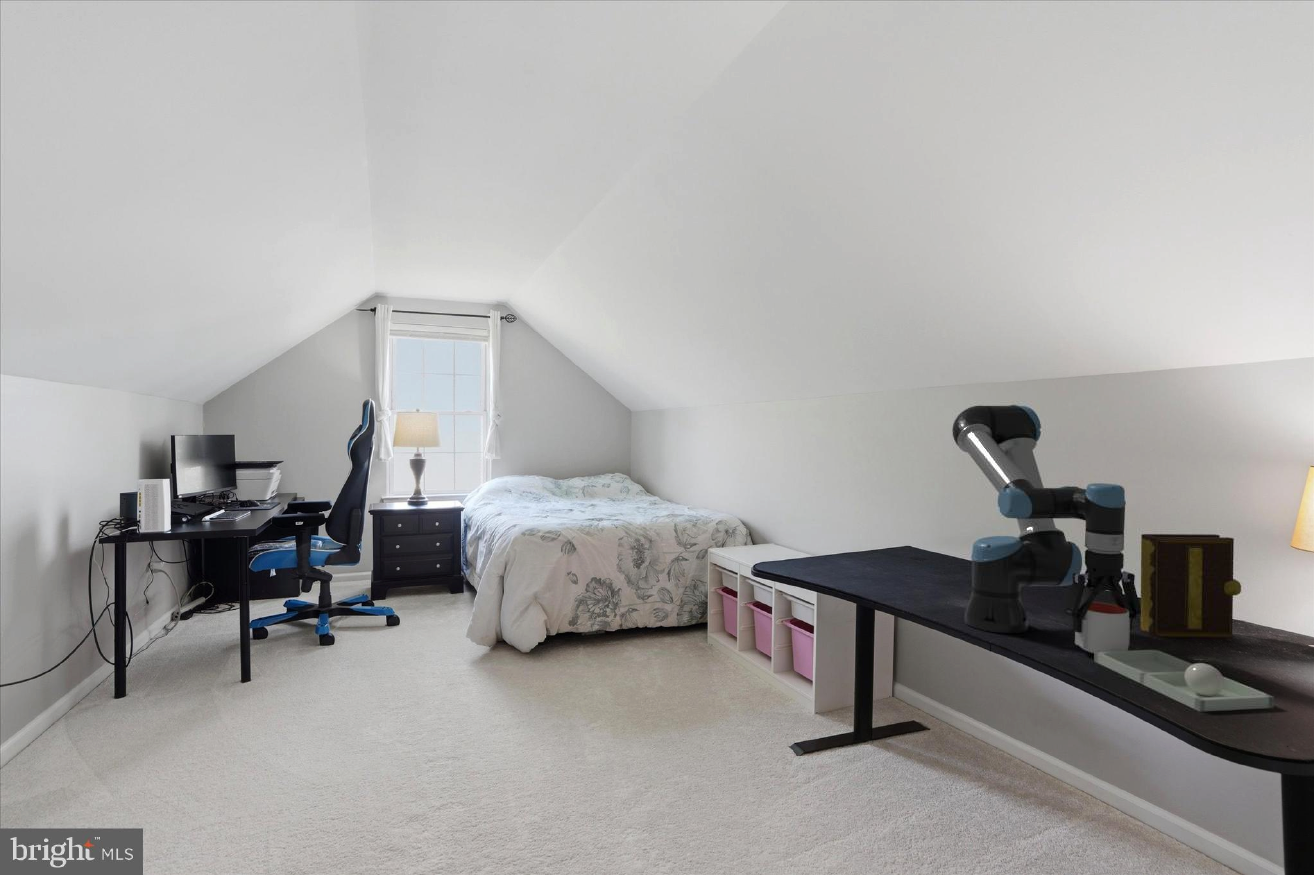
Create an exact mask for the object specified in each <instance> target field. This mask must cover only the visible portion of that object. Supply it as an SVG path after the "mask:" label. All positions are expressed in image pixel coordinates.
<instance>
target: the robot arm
mask: <svg viewBox="0 0 1314 875" xmlns="http://www.w3.org/2000/svg"><path fill="white" fill-rule="evenodd" d="M1041 429H1042V425H1041V421H1040V419H1039V416H1038V414H1037V412H1035V411H1034V409H1032V408H1031V407H1029V406H1026V405H1018V404H1017V405H1016V404H1011V405H975V406H974V405H973V406H970V407H968V408H966V409H964V410H963V411H961V412H960V413H959V414H958V415H957V417H956V418H955V420H954V422H953V424H952V437H953V440H954V442H955V444H956V445H957V446H958V448H959V449H960V450H961V451H962V452H965V453H966V454H968V455H969V456H970V457H971V458H972V460H973V461H974V463H975V465H977V467H979V469H980V470H981V472H982V473H983V474H984V476H985V477H986V478H987V479H988V481H989V482H990V483H991V485H992V486H993V487H994V489H995V490H996V491H997V493H998V496H997V507H998V508H999V512H1000V514H1001V516H1003V517H1005V518H1006V519H1016V522H1017V523H1018V527H1019V531H1020V534H1019V535H1018V536H1017V537H1016V536H1012V535H994V536H987V537H986V536H985V537H982V538H979V539H977V540H975V541H974V542H973V543H972V551H971V596H970V599H969V601H968V603H967V606H966V609H965V611H964V623H965V624H966V625H968V626H969V627H972V628H974V629H975V628H976V629H978V630H982V631H985V632H993V633H1000V634H1017V633H1023V632H1026V631H1028V629H1029V620H1028V617H1027V614H1026V611H1025V608H1024V605H1023V602H1022V599H1021V598H1022V597H1021V590H1022V588H1021V587H1054V588H1057V587H1060V586H1061V587H1063V586H1064V587H1065V586H1067V587H1068V586H1071V588H1070V591H1069V594H1068V598H1067V602H1066V604H1065V608H1064V614H1066V615H1068V616H1070V617H1072V631H1073V632H1074V644H1075V645H1076V646H1079V647H1080V646H1081V647H1083V648H1086V644H1087V620H1086V619H1084V616H1085V614H1086V613H1087V611H1088V609H1089V607H1090V605H1091V604H1092V602H1094V600H1095V598H1096V596H1097V595H1100V593H1101V592H1105V591H1108V592H1109V593H1110V595H1111V596H1112V598H1113V600H1114V602H1115V605H1116V606H1119V607H1122V608H1125V609H1127V610H1128V611H1129V637H1128V647H1129V646H1130V643H1131V642H1130V640H1131V638H1130V637H1131V635H1130V632H1131V631H1132V629H1133V619H1136V618H1137V617H1138V615H1139V616H1140V615H1141V603H1140V601H1139V597H1138V592H1137V589H1136V585H1135V581H1136V580H1135V578H1136V576H1135V573H1132V572H1128V571H1122V569H1124V566H1125V565H1124V563H1125V560H1124V559H1125V557H1124V556H1125V555H1124V553H1123V552H1122V551H1124V550H1125V521H1126V519H1125V518H1126V504H1127V503H1126V499H1125V498H1126V496H1125V488H1124V487H1123V486H1122V485H1120V484H1116V483H1115V484H1114V483H1113V484H1112V483H1103V482H1102V483H1100V482H1099V483H1098V482H1097V483H1095V482H1094V483H1093V482H1092V483H1089V484H1087V485H1086V488H1081V487H1079V486H1070V485H1069V486H1068V485H1067V486H1066V485H1065V486H1061V487H1044V484H1043V481H1042V478H1041V474H1040V470H1039V468H1038V464H1037V461H1036V457H1035V454H1034V451H1033V450H1034V449H1035V448H1036V447H1037V445H1038V444H1037V442H1038V441H1039V440H1040V437H1041V434H1042V433H1041V432H1042V431H1041ZM1054 519H1077V520H1082V521H1084V522H1085V533H1084V534H1085V535H1084V547H1085V548H1086V550H1084V565H1085V567H1086V569H1085V571H1084V572H1085V573H1082V569H1083V557H1082V552H1081V549H1080V547H1079V546H1078V545H1077V544H1076V543H1075V542H1073V541H1069V540H1067V538H1066V535H1065V533H1064V531H1063V530H1061V529H1059V528H1057V527H1056V523H1055V520H1054ZM1120 582H1121V584H1120ZM1081 647H1080V648H1081Z"/></svg>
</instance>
